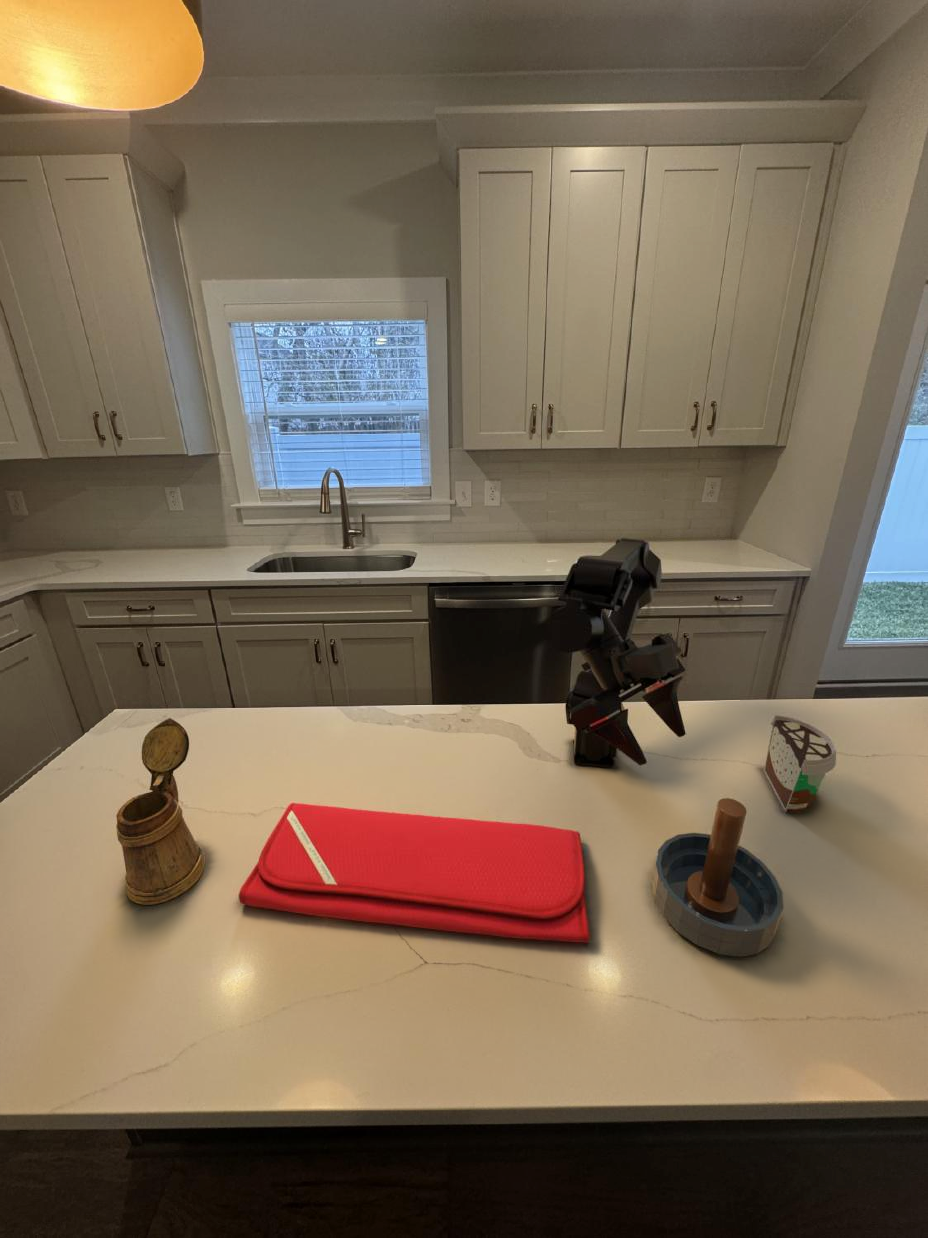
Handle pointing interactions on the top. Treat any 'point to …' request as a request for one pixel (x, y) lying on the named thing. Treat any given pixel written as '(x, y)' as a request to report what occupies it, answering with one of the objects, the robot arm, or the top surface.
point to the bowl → (748, 878)
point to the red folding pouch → (424, 872)
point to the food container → (797, 762)
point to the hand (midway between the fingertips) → (663, 749)
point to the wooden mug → (159, 825)
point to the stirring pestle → (718, 865)
